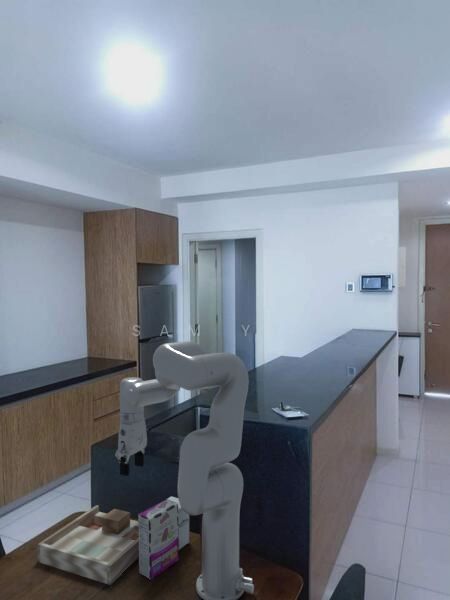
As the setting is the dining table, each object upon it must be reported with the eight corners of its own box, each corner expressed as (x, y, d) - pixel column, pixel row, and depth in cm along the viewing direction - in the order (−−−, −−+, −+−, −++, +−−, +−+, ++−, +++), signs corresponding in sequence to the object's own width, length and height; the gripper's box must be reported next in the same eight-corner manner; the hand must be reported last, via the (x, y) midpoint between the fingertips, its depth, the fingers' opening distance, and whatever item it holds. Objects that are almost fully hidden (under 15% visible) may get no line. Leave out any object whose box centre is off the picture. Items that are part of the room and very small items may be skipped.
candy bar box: (166, 554, 129) (166, 498, 128) (179, 560, 126) (179, 503, 125) (137, 573, 120) (137, 513, 119) (150, 581, 117) (150, 519, 116)
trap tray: (161, 536, 138) (161, 520, 138) (110, 585, 115) (110, 565, 115) (96, 520, 148) (96, 505, 148) (37, 561, 125) (37, 544, 125)
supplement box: (174, 554, 128) (174, 511, 128) (155, 546, 133) (155, 504, 132) (190, 542, 135) (190, 501, 134) (171, 535, 139) (171, 495, 138)
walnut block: (130, 525, 139) (130, 512, 139) (118, 534, 133) (118, 521, 133) (114, 521, 141) (114, 508, 141) (101, 530, 136) (101, 517, 136)
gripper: (125, 424, 135) (125, 482, 135) (156, 410, 151) (156, 462, 151) (105, 422, 138) (105, 478, 138) (137, 408, 154) (137, 459, 154)
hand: (132, 469), depth 145 cm, fingers open, 7 cm apart
